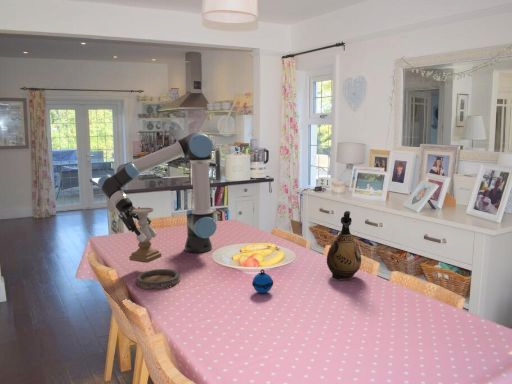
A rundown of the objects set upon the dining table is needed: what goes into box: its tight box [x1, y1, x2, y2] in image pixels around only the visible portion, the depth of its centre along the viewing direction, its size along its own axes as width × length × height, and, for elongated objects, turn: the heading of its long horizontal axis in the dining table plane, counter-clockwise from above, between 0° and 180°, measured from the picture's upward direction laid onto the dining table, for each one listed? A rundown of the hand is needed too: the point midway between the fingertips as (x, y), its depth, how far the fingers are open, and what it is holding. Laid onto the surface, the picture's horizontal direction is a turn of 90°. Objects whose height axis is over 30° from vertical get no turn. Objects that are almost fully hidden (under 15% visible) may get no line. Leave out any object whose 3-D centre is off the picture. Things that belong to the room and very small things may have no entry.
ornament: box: [251, 269, 274, 294], centre depth 195 cm, size 9×9×10 cm
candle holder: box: [128, 207, 162, 264], centre depth 223 cm, size 11×11×24 cm
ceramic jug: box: [326, 210, 362, 281], centre depth 211 cm, size 17×15×30 cm
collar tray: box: [136, 268, 181, 290], centre depth 210 cm, size 19×19×3 cm
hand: (150, 237), depth 221 cm, fingers closed on candle holder, 7 cm apart
